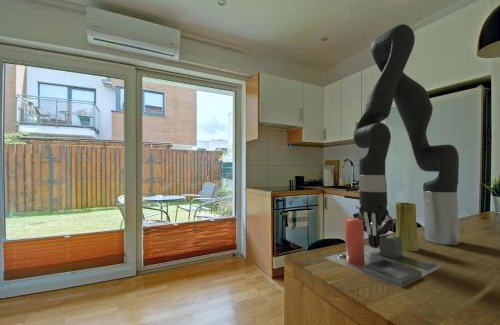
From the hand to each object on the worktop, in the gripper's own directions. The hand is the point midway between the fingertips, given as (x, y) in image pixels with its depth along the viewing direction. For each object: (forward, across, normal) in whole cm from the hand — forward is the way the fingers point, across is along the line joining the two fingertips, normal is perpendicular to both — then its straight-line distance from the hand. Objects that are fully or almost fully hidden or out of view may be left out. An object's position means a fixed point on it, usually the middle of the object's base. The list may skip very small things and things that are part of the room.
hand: (374, 247), depth 71 cm
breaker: (+1, -5, 0) cm, 5 cm away
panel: (+2, -6, +7) cm, 9 cm away
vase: (+2, -4, -11) cm, 12 cm away
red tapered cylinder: (+1, -2, +12) cm, 12 cm away
